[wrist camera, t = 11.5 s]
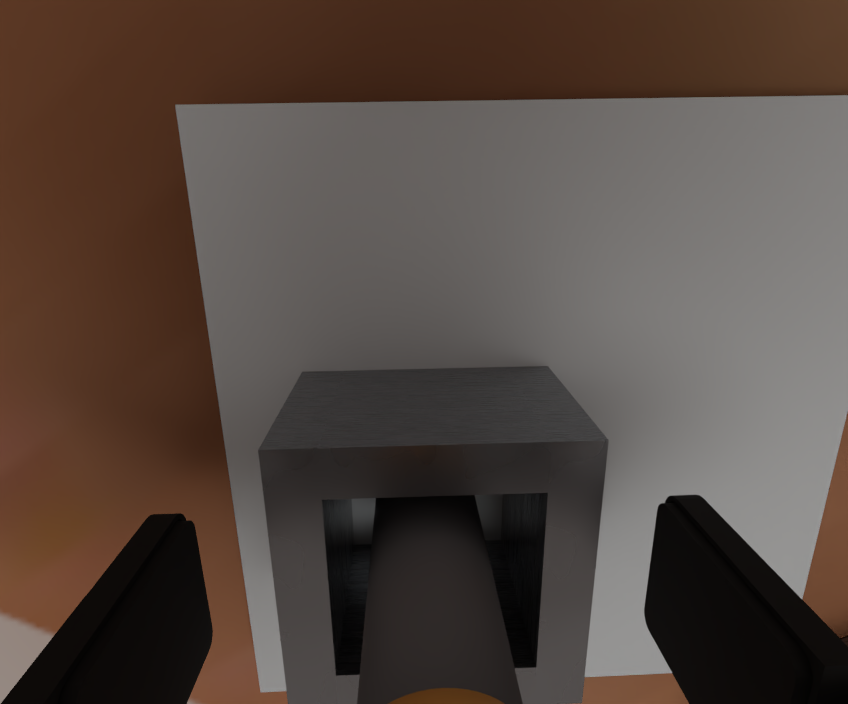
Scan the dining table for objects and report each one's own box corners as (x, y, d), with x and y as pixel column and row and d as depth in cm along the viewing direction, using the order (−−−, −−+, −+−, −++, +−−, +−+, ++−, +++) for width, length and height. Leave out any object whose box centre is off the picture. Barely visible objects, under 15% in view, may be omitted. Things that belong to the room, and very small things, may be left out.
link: (302, 371, 13) (258, 450, 9) (547, 365, 13) (608, 440, 9) (319, 576, 14) (289, 715, 11) (535, 569, 15) (581, 702, 11)
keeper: (201, 114, 12) (-375, -103, 3) (865, 105, 13) (2017, -108, 4) (272, 650, 17) (122, 1175, 8) (754, 628, 17) (1133, 1101, 8)
